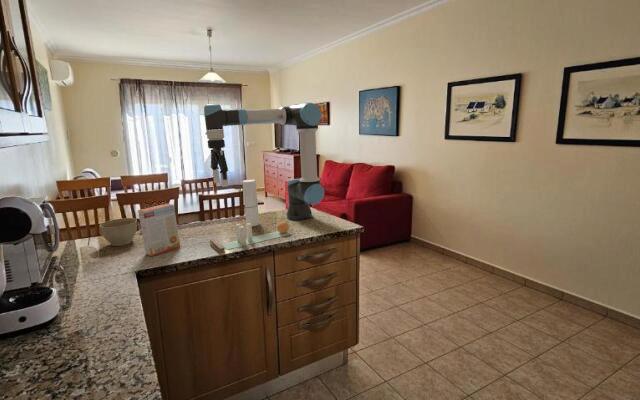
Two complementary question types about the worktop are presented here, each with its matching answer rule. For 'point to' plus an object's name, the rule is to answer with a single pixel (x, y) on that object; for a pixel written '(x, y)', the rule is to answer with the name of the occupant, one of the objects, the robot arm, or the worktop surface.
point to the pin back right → (238, 232)
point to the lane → (255, 239)
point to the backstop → (217, 246)
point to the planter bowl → (119, 231)
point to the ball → (283, 227)
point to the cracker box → (159, 229)
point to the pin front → (249, 232)
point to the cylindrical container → (250, 202)
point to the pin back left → (242, 235)
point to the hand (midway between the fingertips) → (220, 184)
